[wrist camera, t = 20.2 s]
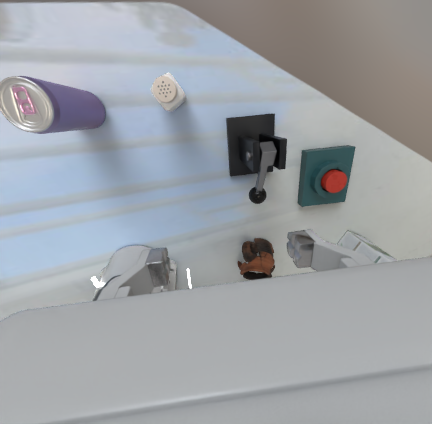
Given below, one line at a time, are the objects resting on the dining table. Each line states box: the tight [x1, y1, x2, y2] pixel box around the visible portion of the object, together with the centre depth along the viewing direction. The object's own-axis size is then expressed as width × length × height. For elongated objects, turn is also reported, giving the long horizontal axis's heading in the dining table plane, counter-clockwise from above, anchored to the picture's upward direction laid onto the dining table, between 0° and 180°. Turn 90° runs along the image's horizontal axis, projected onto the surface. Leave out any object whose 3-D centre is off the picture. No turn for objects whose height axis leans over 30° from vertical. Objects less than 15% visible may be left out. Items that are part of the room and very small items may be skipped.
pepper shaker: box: [151, 73, 186, 112], centre depth 32 cm, size 4×4×10 cm
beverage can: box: [0, 76, 105, 134], centre depth 30 cm, size 6×6×15 cm
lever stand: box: [226, 114, 287, 176], centre depth 36 cm, size 11×9×12 cm
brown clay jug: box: [238, 238, 275, 280], centre depth 50 cm, size 12×10×8 cm
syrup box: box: [337, 231, 397, 264], centre depth 47 cm, size 6×6×14 cm
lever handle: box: [249, 141, 277, 204], centre depth 36 cm, size 13×3×3 cm, turn 6°
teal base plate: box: [298, 145, 355, 207], centre depth 43 cm, size 12×10×4 cm
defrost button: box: [321, 170, 347, 193], centre depth 41 cm, size 4×4×2 cm
